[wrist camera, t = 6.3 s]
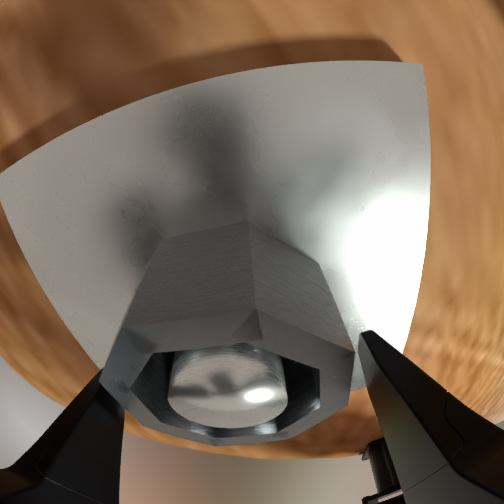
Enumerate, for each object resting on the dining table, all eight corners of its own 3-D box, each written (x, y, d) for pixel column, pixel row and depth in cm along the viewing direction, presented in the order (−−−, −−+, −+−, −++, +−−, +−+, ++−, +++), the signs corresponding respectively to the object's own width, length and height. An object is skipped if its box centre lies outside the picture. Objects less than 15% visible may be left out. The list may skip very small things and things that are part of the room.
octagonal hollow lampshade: (323, 352, 12) (343, 428, 9) (177, 373, 12) (167, 446, 9) (313, 208, 9) (360, 286, 5) (109, 251, 9) (58, 332, 6)
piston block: (389, 365, 15) (416, 431, 11) (144, 402, 16) (133, 467, 12) (406, 65, 7) (515, 65, 3) (7, 171, 8) (-75, 223, 4)
